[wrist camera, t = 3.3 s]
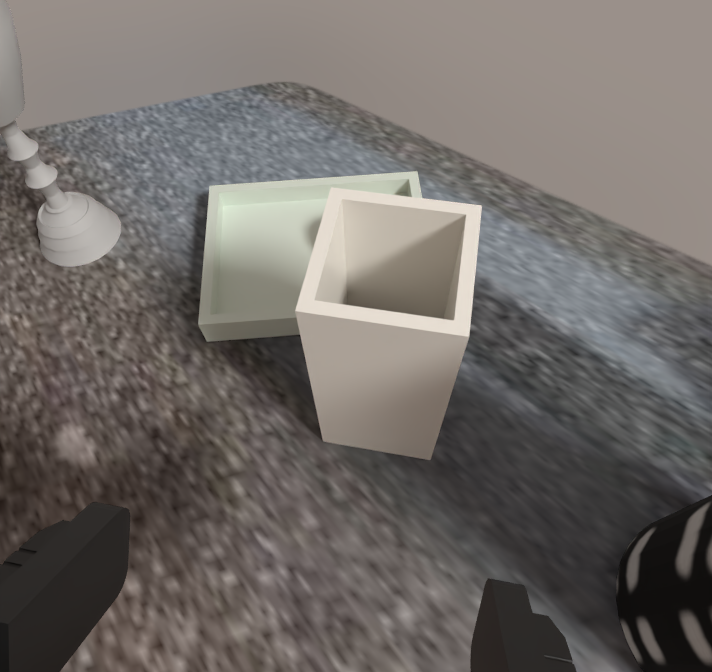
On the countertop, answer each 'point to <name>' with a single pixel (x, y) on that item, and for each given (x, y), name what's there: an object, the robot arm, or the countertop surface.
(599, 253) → the countertop surface
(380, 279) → the cup
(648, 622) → the white-spotted black cylinder
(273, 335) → the tray
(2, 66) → the chalice
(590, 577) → the countertop surface
